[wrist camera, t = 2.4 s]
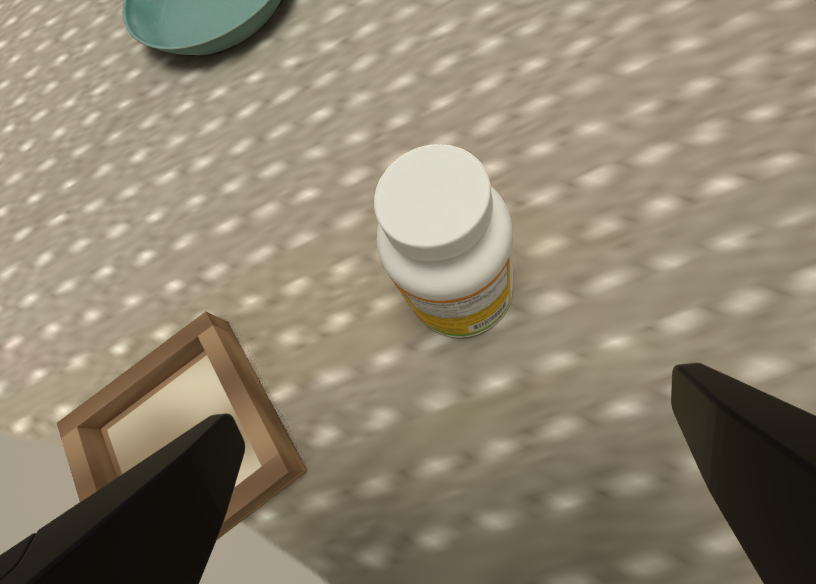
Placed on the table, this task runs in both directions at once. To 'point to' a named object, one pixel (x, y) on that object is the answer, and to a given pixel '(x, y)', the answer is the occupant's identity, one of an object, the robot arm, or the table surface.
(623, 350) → the table surface
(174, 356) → the tray
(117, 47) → the table surface
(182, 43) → the saucer
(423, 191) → the supplement bottle
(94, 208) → the table surface
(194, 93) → the table surface
